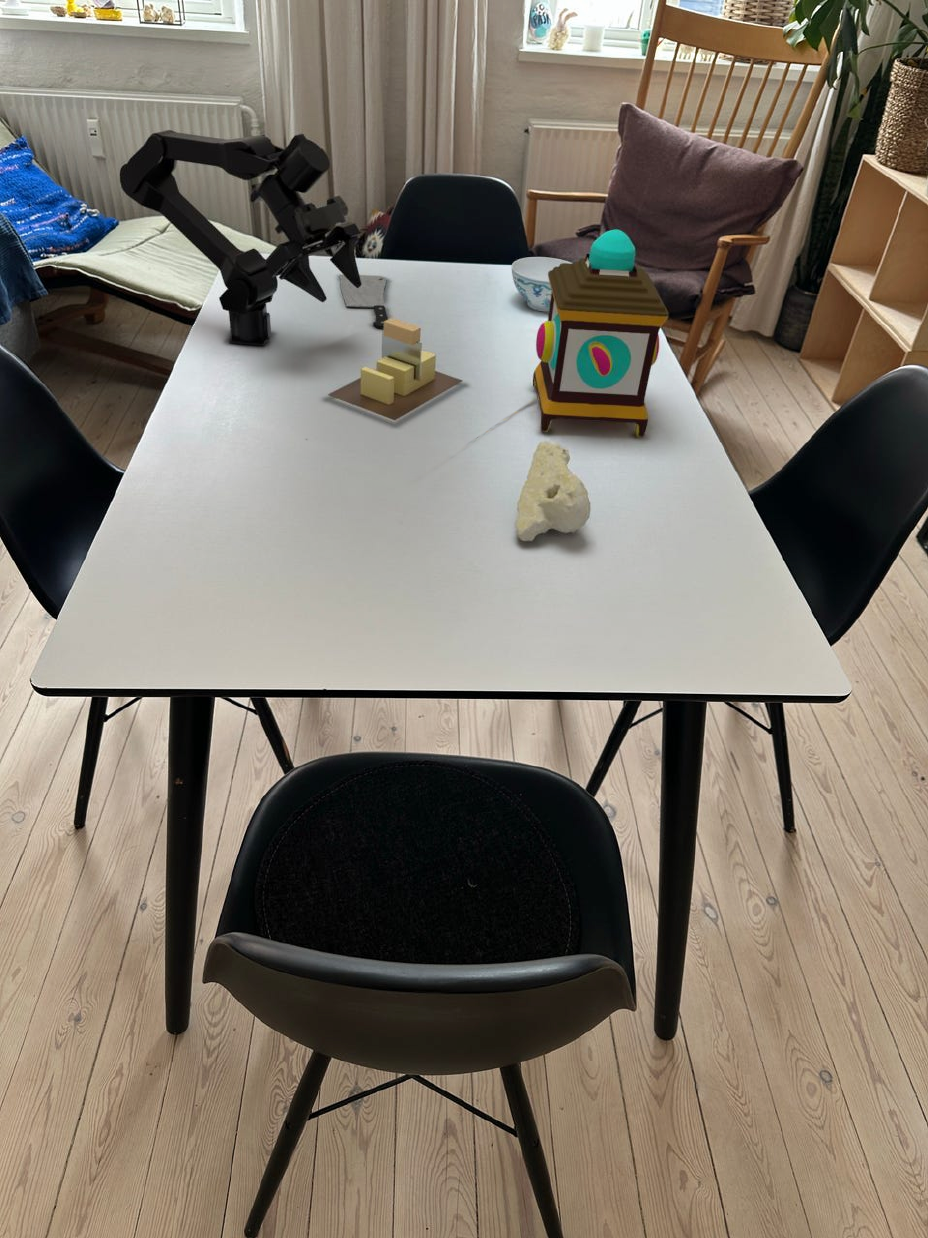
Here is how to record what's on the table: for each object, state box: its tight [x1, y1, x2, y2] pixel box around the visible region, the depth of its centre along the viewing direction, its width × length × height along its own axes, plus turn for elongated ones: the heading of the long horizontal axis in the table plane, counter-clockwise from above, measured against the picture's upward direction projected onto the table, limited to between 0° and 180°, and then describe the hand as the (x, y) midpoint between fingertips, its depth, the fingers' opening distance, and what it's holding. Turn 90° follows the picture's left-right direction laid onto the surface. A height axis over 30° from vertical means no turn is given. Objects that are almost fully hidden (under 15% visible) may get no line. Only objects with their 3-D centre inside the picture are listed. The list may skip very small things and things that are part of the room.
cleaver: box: [339, 274, 388, 329], centre depth 190 cm, size 29×1×10 cm
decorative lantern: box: [532, 229, 670, 438], centre depth 148 cm, size 20×20×30 cm
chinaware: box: [511, 256, 573, 313], centre depth 193 cm, size 15×15×8 cm
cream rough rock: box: [515, 441, 592, 542], centre depth 128 cm, size 15×7×15 cm
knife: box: [381, 317, 423, 381], centre depth 154 cm, size 8×2×9 cm, turn 56°
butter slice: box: [360, 366, 394, 405], centre depth 152 cm, size 6×1×4 cm, turn 56°
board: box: [327, 369, 464, 421], centre depth 158 cm, size 14×20×1 cm
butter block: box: [375, 349, 437, 396], centre depth 158 cm, size 6×9×4 cm, turn 146°
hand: (342, 293), depth 155 cm, fingers open, 9 cm apart
